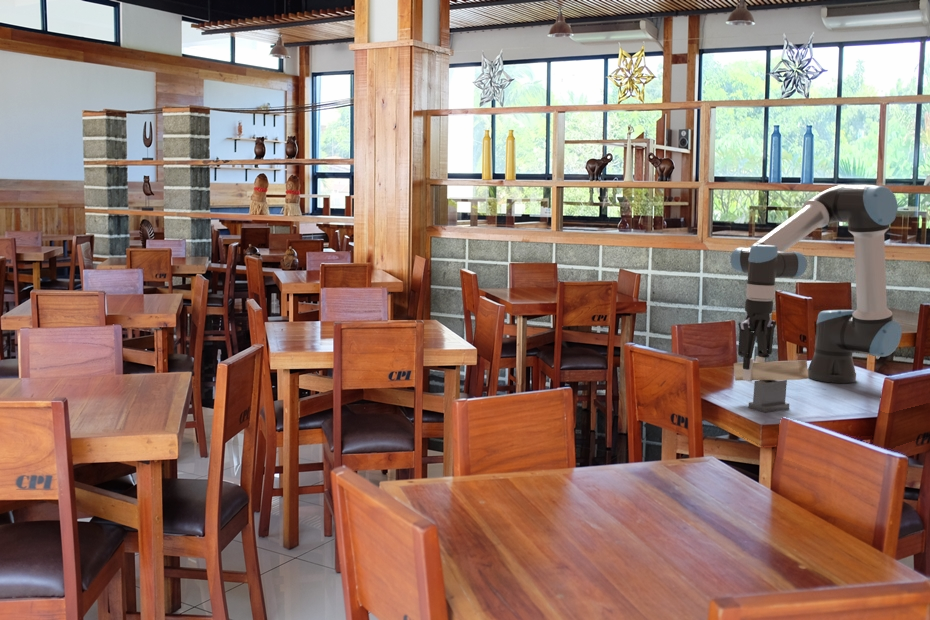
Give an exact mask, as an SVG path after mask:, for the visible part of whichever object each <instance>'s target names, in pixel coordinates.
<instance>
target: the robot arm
mask: <svg viewBox="0 0 930 620" xmlns="http://www.w3.org/2000/svg"><path fill="white" fill-rule="evenodd" d="M898 207H899V206H898V201H897V198H896V195H895V194H894V192H893V191H891V189H890V188H889V187H886V186H884V185H875V184H840V185H836V186H832V187H830V188H827V189H825V190H823V191H821V192H819V193H817V194H816V195H814V196H812V197H811V198H809V199H807V201H805V202H804V203H803V204H802V207H801V208H800V209H799V210H798V211H797V212H795V213H794V214H793V215H791V216H790V217H789V218H787V219H786V220H783V222H781V223H780V224H779V225H778V226H776V227H775V228H773V229H772V230H771V231H769V232H768V233H767V234H765V235H764V236H763V237H761V238H759V239H758V240H757V241H756V242H754V243H752V244H751V245H750V246H748V247H746V246H743V247H742V246H741V247H736V248H735V249H734V250H733V251H732V253H731V255H730V265H731V268H732V269H733V270H734V271H736V272H739V273H743V274H747V281H746V293H745V297H747V299H745V302H744V303H745V305H744V311H745V312H746V317H745V320H744V321H739V322H738V329H739V330H738V331H739V334H738V351H737V352H738V354H737V356H739V357H741V358H743V360H742V362H743V380H742V381H747V382H752V381H753V380H752V373H753V362H766V361H767V360H766V359H769V358H770V355H772V353H773V343H774V335H775V328H776V325H777V321H776V320H772V319H771V318H770V315H771V314H772V313H773V308H774V302H773V299H775V286H776V285H775V284H776V279H783V278H784V279H785V278H789V279H793V278H799V277H801V276H803V275H804V273H805V272H806V270H807V266H808V265H807V258H806V257H805V255H804V254H803V253H801V252H799V251H792V250H791V251H788V250H789V249H790V248H792V247H793V246H795V245H797V243H799V242H800V241H802V239H804V238H805V237H807V236H808V235H809V234H811V233H812V232H814V231H815V230H817V229H819V228H820V229H821V228H822V229H823V228H824V227H826V226H827V225H829V224H832V223H847V231H848V232H849V233H850V234H851V235H852V236H853V245H854V266H855V268H854V269H855V287H856V288H855V291H856V309H855V310H854V309H828V310H822V311H819V312H818V315H817V320H816V323H815V324H816V327H815V331H816V332H815V342H814V343H815V344H814V353H813V356H812V358H811V361H810V364H809V365H808V367H807V368H808V379H811V380H814V381H818V382H824V383H833V384H834V383H835V384H852V383H855V382H857V381H856V380H857V372H856V369H855V364H854V359H853V352H855V353H859V354H863V355H869V356H871V357H881V358H882V357H888V356H890V355H891V354H892V353H894V352H895V351H896V350H897V348H898V346H899V345H900V342H901V340H902V333H903V332H902V331H903V330H902V326H901V325H900V323H899V322H898V321H895V320H893V319H894V318H893V311H891V310H890V309H889V308H888V306H887V305H888V304H887V303H888V301H887V299H888V298H887V280H886V279H887V278H886V277H887V275H886V274H887V273H886V271H887V270H886V249H885V246H886V245H885V233H887V231H889V229H890V224H892V223H893V222H894V221H895V219H896V217H897V216H896V215H897V214H898V211H899V209H898ZM756 343H757V355H756V356H755V361H754V358H752V357H753V353H754V349H755V344H756Z"/></svg>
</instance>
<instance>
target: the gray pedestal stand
mask: <svg viewBox="0 0 930 620" xmlns="http://www.w3.org/2000/svg"><path fill="white" fill-rule="evenodd" d="M753 385H754V386H753V396H752V397H753V398H752V401H751V402H750V401H749V402H748V404H747V405H748V409H751V410H755V411H757V412H759V411H760V412H763V413H765V414H766V413H770V412H776V411H782V410H788V409H790V403H789V402H786V397H787V385H788V380H754V384H753Z"/></svg>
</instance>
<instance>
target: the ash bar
mask: <svg viewBox="0 0 930 620" xmlns="http://www.w3.org/2000/svg"><path fill="white" fill-rule="evenodd" d="M808 368H809V367H808V361H807V359H804V360H803V359H802V360H800V359H799V360H774V361H773V360H772V361H767V360H766V361H765V362H755V361H753V373H752V381H759V380H787V381H791V380H793V381H795V380H797V381H798V380H807V379H809V377H808ZM733 371H734V381H736V382H737V381H744V380H743V361H742V362H735V363H733Z"/></svg>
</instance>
